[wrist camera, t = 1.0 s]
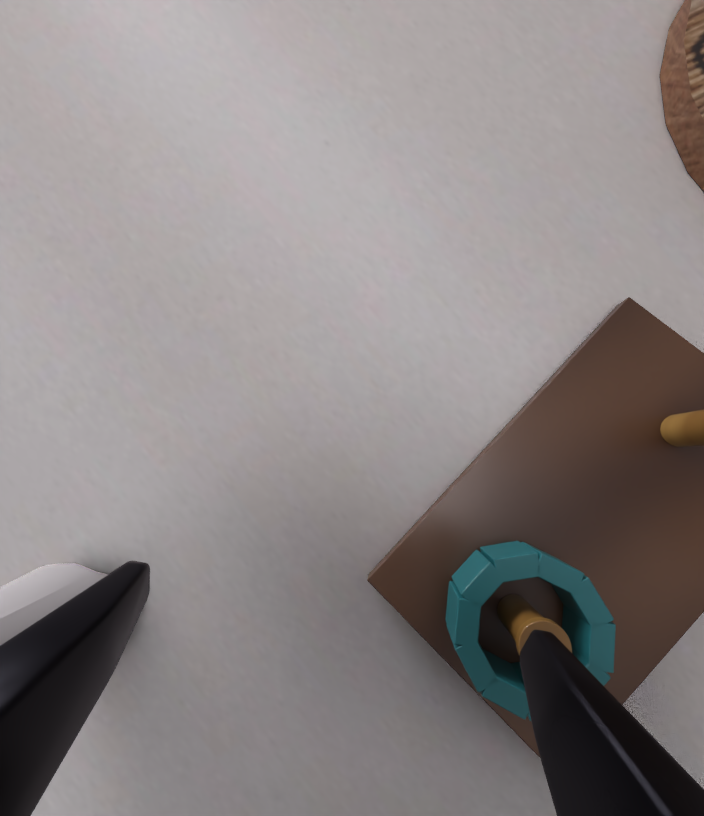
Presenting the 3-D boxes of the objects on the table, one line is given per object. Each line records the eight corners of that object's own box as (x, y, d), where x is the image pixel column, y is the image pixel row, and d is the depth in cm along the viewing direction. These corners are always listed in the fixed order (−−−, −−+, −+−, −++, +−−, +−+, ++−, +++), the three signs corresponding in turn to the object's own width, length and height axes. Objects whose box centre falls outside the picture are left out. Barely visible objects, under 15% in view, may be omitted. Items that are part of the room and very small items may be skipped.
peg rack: (818, 456, 20) (955, 454, 15) (549, 761, 19) (604, 861, 14) (618, 304, 21) (683, 259, 17) (367, 574, 21) (361, 607, 16)
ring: (614, 610, 18) (651, 634, 16) (520, 716, 18) (542, 758, 16) (508, 513, 20) (526, 520, 17) (417, 612, 19) (422, 635, 17)
